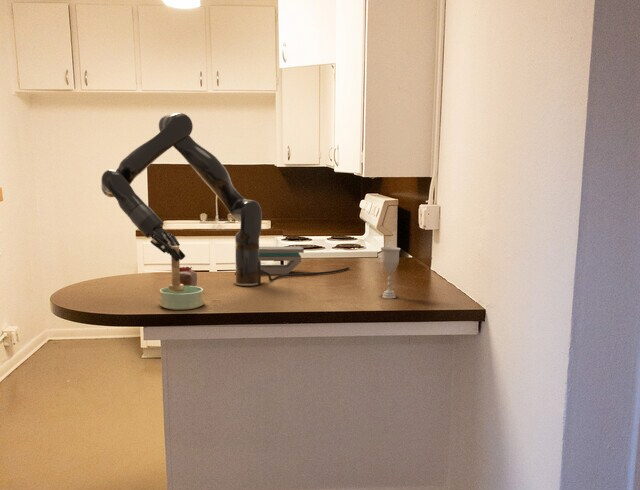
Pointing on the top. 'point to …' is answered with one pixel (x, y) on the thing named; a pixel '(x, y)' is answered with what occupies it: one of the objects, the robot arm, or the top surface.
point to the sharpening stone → (280, 258)
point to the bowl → (182, 298)
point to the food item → (188, 276)
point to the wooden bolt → (175, 275)
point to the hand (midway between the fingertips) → (181, 258)
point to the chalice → (390, 266)
